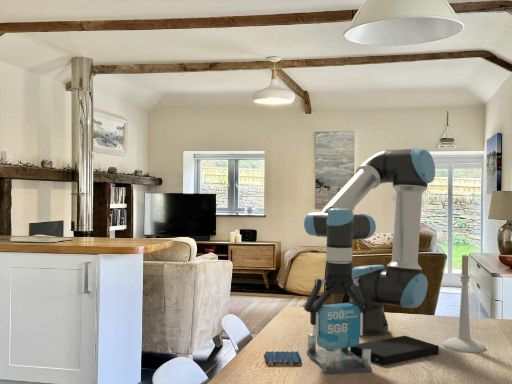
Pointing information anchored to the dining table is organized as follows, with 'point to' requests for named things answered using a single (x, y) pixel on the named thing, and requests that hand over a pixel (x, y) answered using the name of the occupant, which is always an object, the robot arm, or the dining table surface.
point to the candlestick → (464, 319)
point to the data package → (338, 326)
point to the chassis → (339, 359)
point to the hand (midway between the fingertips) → (337, 335)
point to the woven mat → (282, 358)
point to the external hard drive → (396, 350)
